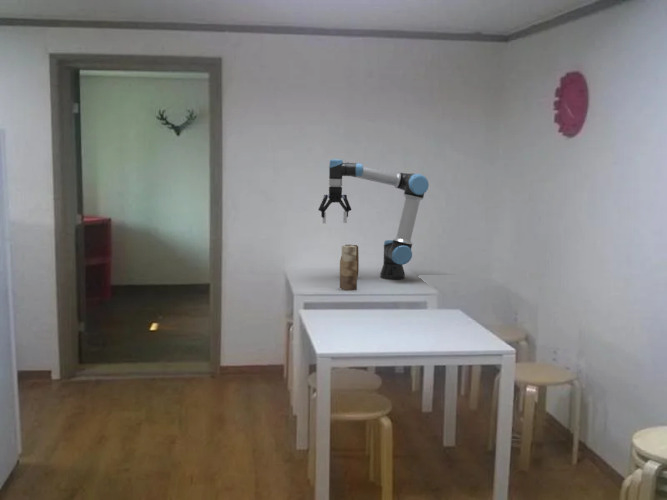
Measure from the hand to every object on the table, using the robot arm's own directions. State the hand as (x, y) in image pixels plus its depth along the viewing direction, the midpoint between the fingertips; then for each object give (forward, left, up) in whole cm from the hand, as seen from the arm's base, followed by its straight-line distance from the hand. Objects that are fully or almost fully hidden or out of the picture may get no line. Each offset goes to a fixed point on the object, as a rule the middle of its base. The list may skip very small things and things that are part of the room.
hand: (334, 223), depth 419 cm
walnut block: (+2, +22, -35) cm, 41 cm away
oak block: (+2, +22, -27) cm, 35 cm away
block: (-16, -10, -35) cm, 40 cm away
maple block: (+2, +22, -19) cm, 29 cm away
